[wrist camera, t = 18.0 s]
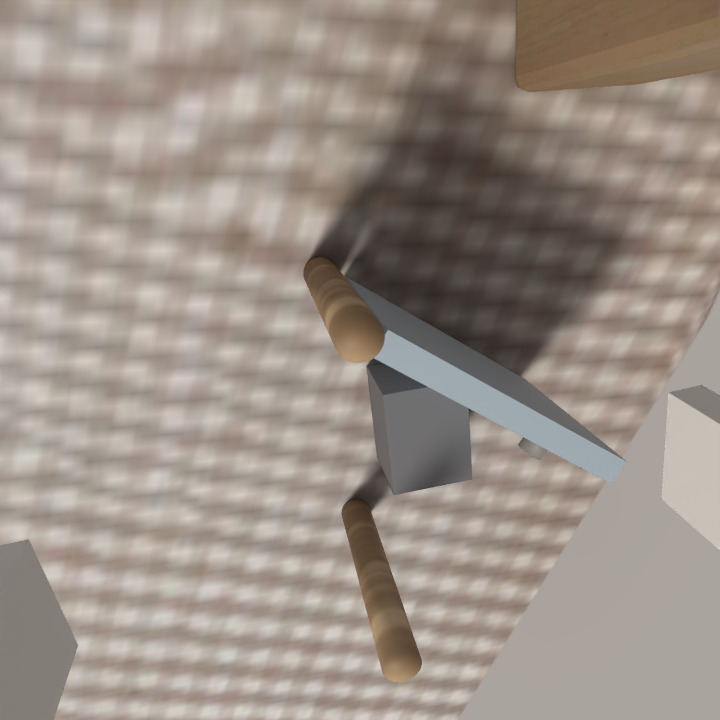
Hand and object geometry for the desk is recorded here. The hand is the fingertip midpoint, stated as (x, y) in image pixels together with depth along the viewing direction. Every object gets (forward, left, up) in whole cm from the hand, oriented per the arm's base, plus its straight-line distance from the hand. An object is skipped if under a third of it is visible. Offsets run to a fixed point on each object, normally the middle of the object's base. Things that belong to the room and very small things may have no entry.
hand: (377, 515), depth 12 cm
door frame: (+12, +2, -31) cm, 33 cm away
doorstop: (+13, +8, -32) cm, 35 cm away
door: (+8, +9, -30) cm, 33 cm away
